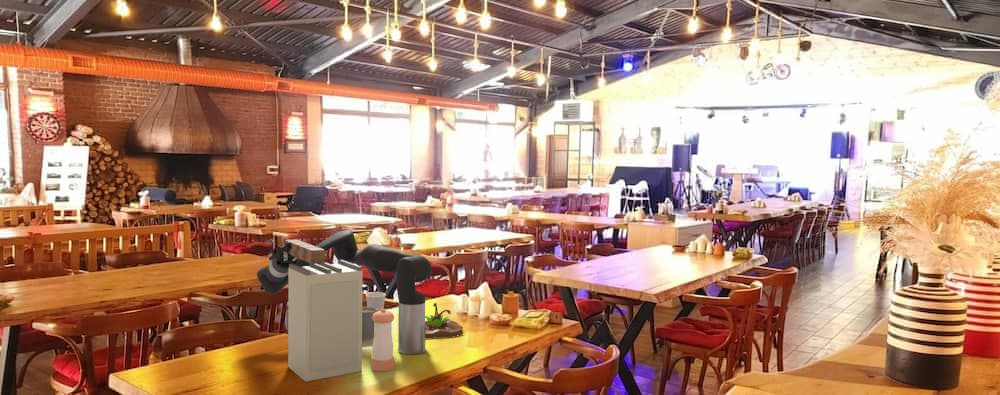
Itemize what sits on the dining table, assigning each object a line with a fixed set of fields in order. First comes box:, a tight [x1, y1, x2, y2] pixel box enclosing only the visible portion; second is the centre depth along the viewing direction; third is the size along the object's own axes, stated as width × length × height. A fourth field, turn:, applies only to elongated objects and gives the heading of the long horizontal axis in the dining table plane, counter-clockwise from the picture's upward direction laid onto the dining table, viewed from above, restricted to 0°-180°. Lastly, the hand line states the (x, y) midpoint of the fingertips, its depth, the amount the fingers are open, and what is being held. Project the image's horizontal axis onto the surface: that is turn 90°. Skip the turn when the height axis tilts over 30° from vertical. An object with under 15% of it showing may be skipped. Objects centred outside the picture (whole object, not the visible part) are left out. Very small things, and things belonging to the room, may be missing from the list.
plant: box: [425, 302, 464, 339], centre depth 252 cm, size 20×20×11 cm
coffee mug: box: [362, 306, 378, 340], centre depth 245 cm, size 13×10×10 cm
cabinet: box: [287, 260, 364, 383], centre depth 203 cm, size 16×18×33 cm
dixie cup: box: [365, 291, 387, 311], centre depth 271 cm, size 8×8×10 cm
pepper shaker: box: [370, 308, 395, 372], centre depth 206 cm, size 7×7×19 cm
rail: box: [283, 238, 326, 264], centre depth 203 cm, size 26×4×4 cm, turn 36°
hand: (297, 244), depth 209 cm, fingers closed on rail, 4 cm apart
